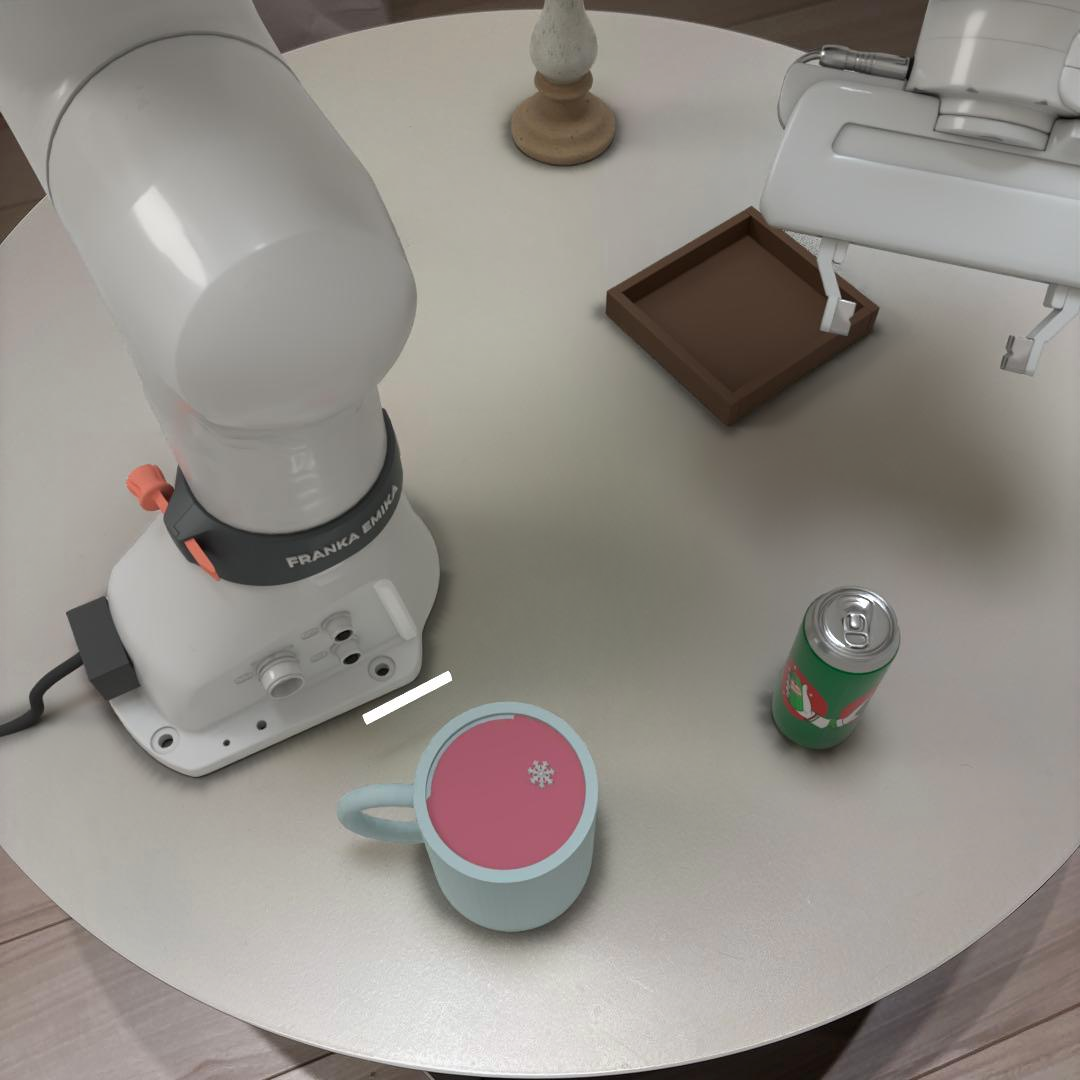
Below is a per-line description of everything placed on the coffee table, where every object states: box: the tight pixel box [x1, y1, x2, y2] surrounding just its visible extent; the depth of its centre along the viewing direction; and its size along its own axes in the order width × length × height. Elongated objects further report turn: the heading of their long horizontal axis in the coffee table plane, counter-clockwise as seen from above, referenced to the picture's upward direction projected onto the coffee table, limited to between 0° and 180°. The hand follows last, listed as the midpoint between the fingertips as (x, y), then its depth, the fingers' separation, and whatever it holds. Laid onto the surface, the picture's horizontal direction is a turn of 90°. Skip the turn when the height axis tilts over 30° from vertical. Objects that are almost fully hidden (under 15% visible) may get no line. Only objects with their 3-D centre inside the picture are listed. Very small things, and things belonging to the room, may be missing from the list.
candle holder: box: [510, 0, 616, 166], centre depth 88 cm, size 9×9×20 cm
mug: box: [335, 701, 599, 933], centre depth 61 cm, size 14×9×10 cm
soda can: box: [771, 585, 901, 750], centre depth 64 cm, size 5×5×12 cm
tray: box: [605, 205, 880, 427], centre depth 85 cm, size 15×14×2 cm
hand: (923, 352), depth 60 cm, fingers open, 8 cm apart
